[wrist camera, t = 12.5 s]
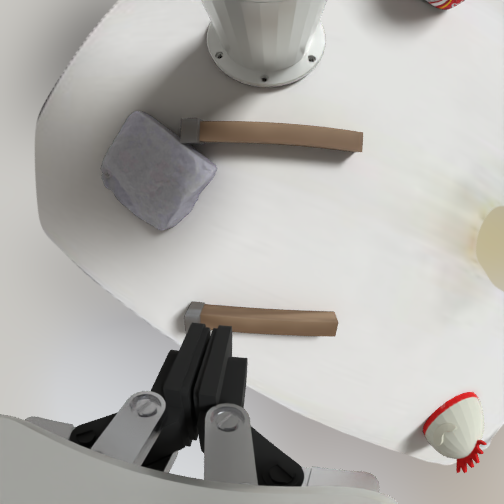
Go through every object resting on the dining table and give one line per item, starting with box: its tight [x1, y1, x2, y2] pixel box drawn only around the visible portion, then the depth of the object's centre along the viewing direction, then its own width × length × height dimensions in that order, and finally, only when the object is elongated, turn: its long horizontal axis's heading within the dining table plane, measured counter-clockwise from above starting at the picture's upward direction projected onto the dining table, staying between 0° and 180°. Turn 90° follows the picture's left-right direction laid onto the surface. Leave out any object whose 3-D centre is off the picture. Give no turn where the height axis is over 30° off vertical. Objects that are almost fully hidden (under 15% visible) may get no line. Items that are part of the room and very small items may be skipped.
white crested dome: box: [423, 392, 486, 473], centre depth 34 cm, size 14×14×15 cm
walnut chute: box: [180, 118, 363, 336], centre depth 30 cm, size 23×18×4 cm
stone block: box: [101, 111, 217, 230], centre depth 29 cm, size 12×5×10 cm
